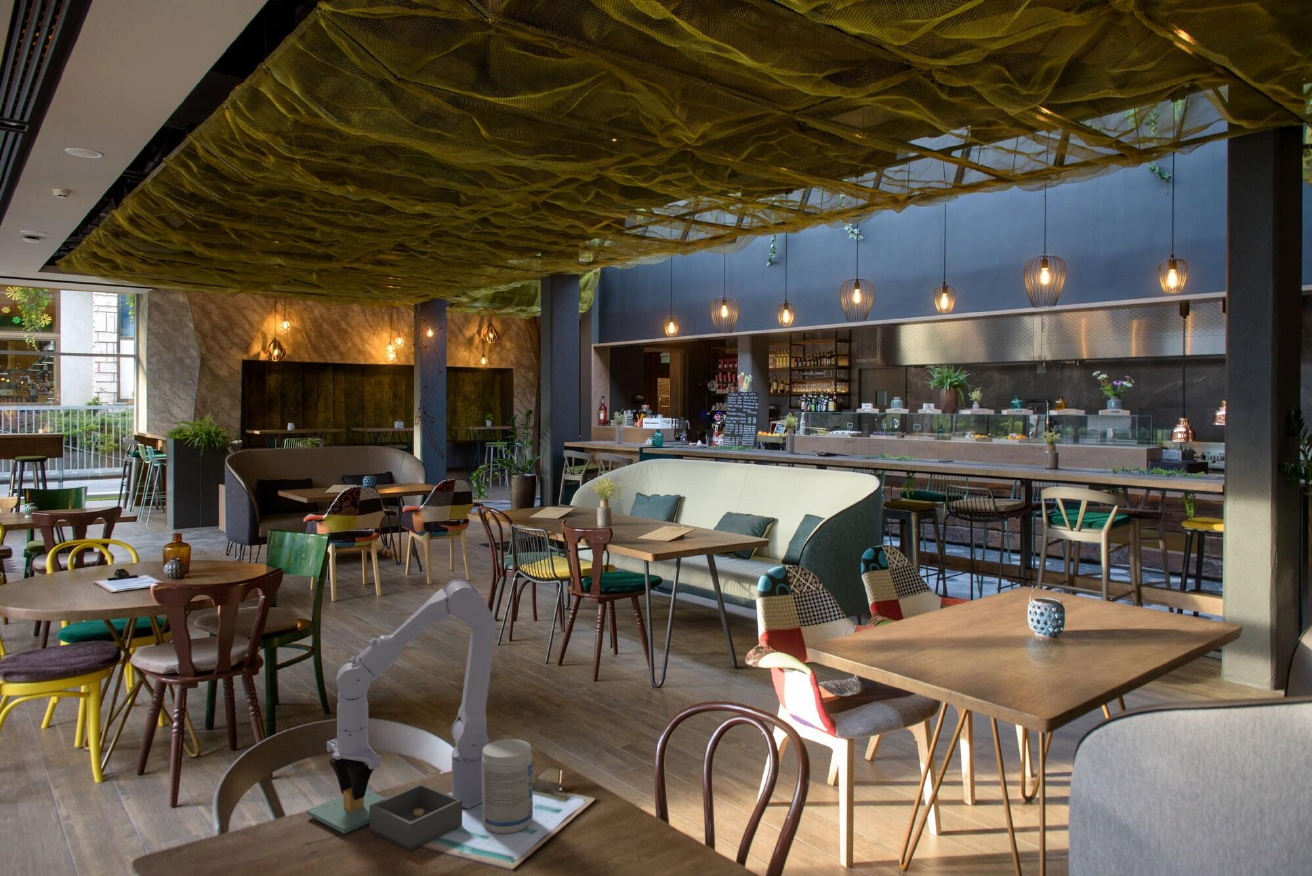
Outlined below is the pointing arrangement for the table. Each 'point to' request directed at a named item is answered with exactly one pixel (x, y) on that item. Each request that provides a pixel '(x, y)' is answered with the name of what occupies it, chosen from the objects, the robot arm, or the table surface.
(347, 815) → the lid
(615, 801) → the table surface
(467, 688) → the robot arm
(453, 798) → the parts tub
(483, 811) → the supplement tub
